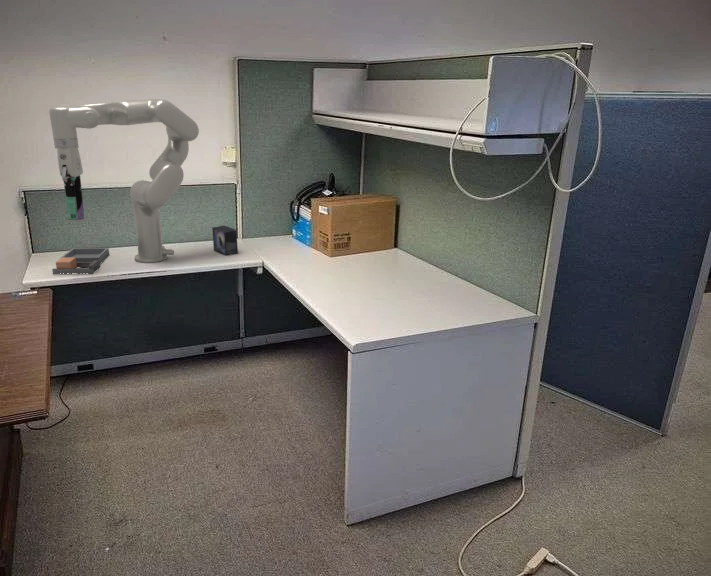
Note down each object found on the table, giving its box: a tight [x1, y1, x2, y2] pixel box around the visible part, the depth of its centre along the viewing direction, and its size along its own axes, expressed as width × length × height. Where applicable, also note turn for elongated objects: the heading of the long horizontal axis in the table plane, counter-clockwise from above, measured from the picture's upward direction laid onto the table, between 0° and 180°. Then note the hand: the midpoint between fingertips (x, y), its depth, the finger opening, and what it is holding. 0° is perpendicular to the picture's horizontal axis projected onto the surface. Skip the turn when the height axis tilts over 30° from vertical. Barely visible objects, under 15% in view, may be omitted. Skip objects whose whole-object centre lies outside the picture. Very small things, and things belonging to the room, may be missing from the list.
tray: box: [60, 247, 110, 265], centre depth 221 cm, size 14×14×3 cm
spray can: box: [63, 174, 85, 223], centre depth 200 cm, size 6×6×20 cm
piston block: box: [55, 257, 77, 269], centre depth 208 cm, size 5×6×4 cm
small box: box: [211, 225, 239, 256], centre depth 237 cm, size 11×6×10 cm, turn 43°
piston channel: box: [51, 260, 101, 275], centre depth 208 cm, size 14×9×3 cm, turn 98°
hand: (74, 194), depth 200 cm, fingers closed on spray can, 5 cm apart
